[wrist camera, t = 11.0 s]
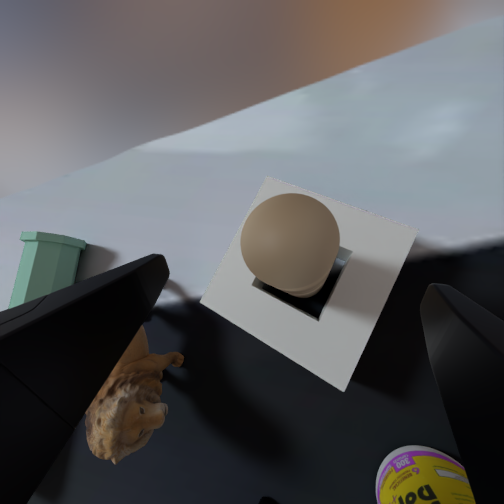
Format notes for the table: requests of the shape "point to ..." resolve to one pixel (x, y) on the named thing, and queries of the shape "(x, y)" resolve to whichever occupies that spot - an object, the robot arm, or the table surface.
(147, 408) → the lion figurine
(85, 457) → the table surface
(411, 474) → the supplement bottle
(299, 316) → the socket
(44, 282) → the container
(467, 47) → the table surface
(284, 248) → the peg
